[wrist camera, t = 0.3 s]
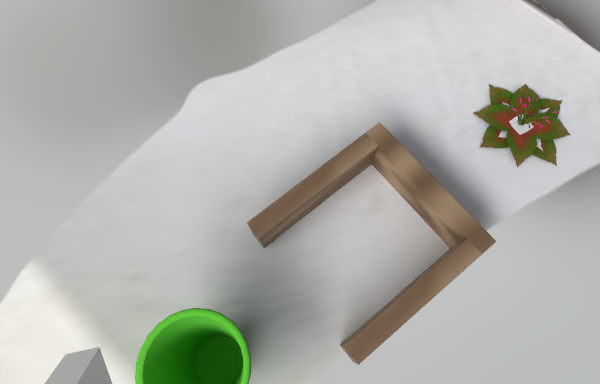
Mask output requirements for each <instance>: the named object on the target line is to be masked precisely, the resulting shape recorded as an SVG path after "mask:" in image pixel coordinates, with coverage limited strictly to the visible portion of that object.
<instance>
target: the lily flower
mask: <svg viewBox="0 0 600 384" xmlns="http://www.w3.org/2000/svg"><path fill="white" fill-rule="evenodd" d="M489 87H490V92H491V94H490V98H491V104H492V105H490V106H488V107H486V108H484V109H482V110H481V111H479V112H475V113H473V114H475V115H477V116H478V117H480V118H482V119H483V120H484V121H486V122H487V123H489V124H490V126H489V127H488V129H487V131H486V133H485V135H484V138H483V143H482V144H481V146H480V147H492V148H508V147H510V149H511V152H512V154H513V157H514V159H515V160H516V164H517V167H518V166H519V165H520V164H521V163H522V162H523V161H524V160H525V158H528V157H529V156H530V155H531V154H533V155H535V156H537V157H539V158H541V159H544V160H546V161H548V162H549V161H550V162H552V163H553V164H555V165H556V166H557V164H556V156H555V154H556V148H555V145H554V142H553V140H552V139H556V138H561V137H564V136H565V135H570V134H569V133H568V132H567V130H566V129H565V128H564V127H563V125H562V124H561V122H560V121H559V120H558V119H556V118H557V116H558V114H559V110H560V106H559V104H561V102H562V101H557V100H552V101H551V100H550V99H539V97H538V95H537V94H536V93H535V92H534V91H532V90H531V89H529V88H528V86H527V85H526V84H525V85H524V86H523V87H521V89H518V90H517V91H516V92H515V93H514V94H512V93H511V92H509V91H507V90H505V89H501V88H498V87H495V88H494V87H493V86H491V85H489ZM502 102H504V103H507V104H509V105H510V108H509V107H507V106H505V105H503V103H502ZM550 107H551V108H550ZM546 108H550V109H549V110H548V111H547V112H546V113H541V114H537V113H538V112H539V109H541V110H543V109H546ZM520 114H521V116H520V117H519V115H520ZM522 114H523V115H524V117H523V119H522V121H521V117H522ZM516 116H518V121H519V123H518V124H519V125H520V124H521V125H524V124H526V123H527V124H529V122H531V123H532V125H533V126H534V127H533V128H532V129H530V130H529V131H527V132H526V133H524V134H521V135H519V134H518V133H517V132H516V131H515V129H514V128H513V127H512V126H511V124H510V123H509V121H510V120H512V119H513V118H514V117H516ZM526 120H527V121H526ZM518 121H517V122H518ZM524 121H525V122H524ZM523 122H524V123H523ZM529 128H530V124H529ZM501 130H502V131H508V132H507V138H501V137H498V136H499V134H500V132H501ZM497 137H498V138H497ZM535 138H538V139H541V143H542V144H541V147H542V149H543V151H542V150H541V149H540V148H538V147H536V145H537V142H536V139H535Z"/></svg>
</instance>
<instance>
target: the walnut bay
mask: <svg viewBox="0 0 600 384" xmlns="http://www.w3.org/2000/svg"><path fill="white" fill-rule="evenodd" d="M371 164H372V165H373V166H374V167H375V168H376V169H377V170H378V171H379V172H380V173H381V174H382V175H383V176H384V178H385V179H386V180H387V181H388V182H389V183H390V184H391V185H392V186H393V187H394V188H395V189H396V190H397V191H398V192H399V194H400V195H401V196H402V197H403V198H404V199H405V200H406V201H407V202H408V203H409V204H410V205H411V206H412V207H413V208H414V210H415V211H416V212H417V213H418V214H419V215H420V216H421V217H422V218H423V219H424V220H425V221H426V222H427V223H428V225H429V226H430V227H431V228H432V229H433V230H434V231H435V232H436V233H437V234H438V235H439V236H440V237H441V238H442V239H443V241H444V242H445V243H446V244H447V245H448V246H449V247H450V248H451V249H450V250H449V251H447V252H446V253H445V254H444V255H443V256H442V257H441V258H439V259H438V260H437V261H436V262H435V263H434V264H433V265H431V266H430V267H429V268H428V269H427V270H426V271H424V272H423V273H422V274H421V275H420V276H419V277H418V278H416V279H415V280H414V281H413V282H412V283H411V284H410V285H408V286H407V287H406V288H405V289H404V290H403V291H402V292H400V293H399V294H398V295H397V296H396V297H395V298H394V299H392V300H391V301H390V302H389V303H388V304H387V305H386V306H384V307H383V308H382V309H381V310H380V311H379V312H378V313H376V314H375V315H374V316H373V317H372V318H371V319H370V320H368V321H367V322H366V323H365V324H364V325H363V326H361V327H360V328H359V329H358V330H357V331H356V332H355V333H353V334H352V335H351V336H350V337H349V338H348V339H347V340H345V341H344V342H343V343H342V344H341V345H340V346H341V347H342V348H343V349H344V351H345V352H346V353H347V354H348V356H349V357H350V358H351V359H352V361H353V362H355V363H357V364H360V363H361V362H362V361H363V360H364V359H365V358H366V357H367V356H369V355H370V354H371V353H372V352H373V351H374V350H375V349H376V348H378V347H379V346H380V345H381V344H382V343H383V342H384V341H385V340H387V339H388V338H389V337H390V336H391V335H392V334H393V333H394V332H396V331H397V330H398V329H399V328H400V327H401V326H402V325H403V324H404V323H406V322H407V321H408V320H409V319H410V318H411V317H412V316H413V315H414V314H416V313H417V312H418V311H419V310H420V309H421V308H422V307H423V306H425V305H426V304H427V303H428V302H429V301H430V300H431V299H432V298H433V297H435V296H436V295H437V294H438V293H439V292H440V291H441V290H442V289H443V288H445V287H446V286H447V285H448V284H449V283H450V282H451V281H452V280H454V279H455V278H456V277H457V276H458V275H459V274H460V273H461V272H463V271H464V270H465V269H466V268H467V267H468V266H469V265H470V264H472V263H473V262H474V261H475V260H476V259H477V258H478V257H479V256H481V255H482V254H483V253H484V252H485V251H486V250H487V249H488V248H489V247H490V246H492V245H493V244H494V243H495V242H496V241H495V240H494V239H493V238H492V237H491V235H490V234H489V233H488V232H487V231H486V230H485V229H484V228H483V227H482V226H481V225H480V224H479V223H478V222H477V221H476V220H475V219H474V218H473V217H472V216H471V215H470V214H469V213H468V212H467V211H466V210H465V209H464V208H463V207H462V206H461V205H460V204H459V203H458V202H457V201H456V200H455V199H454V198H453V197H452V196H451V195H450V194H449V193H448V192H447V191H446V190H445V189H444V187H443V186H442V185H441V184H440V183H439V182H438V181H437V180H436V179H435V178H434V177H433V176H432V175H431V174H430V173H429V172H428V171H427V170H426V169H425V168H424V167H423V166H422V165H421V164H420V163H419V162H418V161H417V160H416V159H415V158H414V157H413V156H412V155H411V154H410V153H409V152H408V151H407V150H406V149H405V148H404V147H403V146H402V145H401V144H400V143H399V142H398V141H397V140H396V138H395V137H394V136H393V135H392V134H391V133H390V132H389V131H388V130H387V129H386V128H385V127H384V126H383V125H382V124H381V123H380V122H379V123H378V124H377V125H375V126H374V127H373V128H371V129H370V130H369V131H367V132H366V133H365V134H364V135H362V136H361V137H360V138H358V139H357V140H356V141H354V142H353V143H352V144H350V145H349V146H348V147H346V148H345V149H344V150H342V151H341V152H340V153H339V154H337V155H336V156H335V157H333V158H332V159H331V160H329V161H328V162H327V163H325V164H324V165H323V166H321V167H320V168H319V169H317V170H316V171H315V172H313V173H312V174H311V175H310V176H308V177H307V178H306V179H304V180H303V181H302V182H300V183H299V184H298V185H296V186H295V187H294V188H292V189H291V190H290V191H288V192H287V193H286V194H285V195H283V196H282V197H281V198H279V199H278V200H277V201H275V202H274V203H273V204H271V205H270V206H269V207H267V208H266V209H265V210H263V211H262V212H261V213H259V214H258V215H257V216H256V217H254V218H253V219H252V220H250V221H249V222H248V223H247V224H248V225H249V227H250V229H251V231H252V233H253V235H254V236H255V237H256V238H257V240H258V241H259V242H260V243H261V245H262V246H263V247H264V248H265V247H266V246H267V245H268V244H270V243H271V242H272V241H274V240H275V239H276V238H277V237H279V236H280V235H281V234H283V233H284V232H285V231H286V230H288V229H289V228H290V227H291V226H293V225H294V224H295V223H297V222H298V221H299V220H300V219H302V218H303V217H304V216H306V215H307V214H308V213H309V212H311V211H312V210H313V209H315V208H316V207H317V206H318V205H320V204H321V203H322V202H324V201H325V200H326V199H327V198H329V197H330V196H331V195H332V194H334V193H335V192H336V191H338V190H339V189H340V188H341V187H343V186H344V185H345V184H347V183H348V182H349V181H350V180H352V179H353V178H354V177H356V176H357V175H358V174H359V173H361V172H362V171H363V170H365V169H366V168H367V167H368V166H370V165H371Z"/></svg>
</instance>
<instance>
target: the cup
mask: <svg viewBox="0 0 600 384" xmlns="http://www.w3.org/2000/svg"><path fill="white" fill-rule="evenodd" d="M250 375H251V357H250V353H249V349H248V344H247V342H246V340H245V338H244V336H243V334H242V332H241V331H240V330H239V328H238V327H237V326H236V325H235V324H234V323H233V321H231V320H230V319H228V318H227V317H225V316H224V315H223V314H221V313H218V312H215V311H213V310H210V309H201V308H193V309H187V310H182V311H179V312H177V313H175V314H172V315H170V316H168V317H167V318H166V319H164V320H163V321H162V322H160V323H159V324H158V325H157V326H156V327H155V328H154V329H153V330H152V331H151V333H150V334H149V335H148V336H147V338H146V340H145V342H144V344H143V345H142V347H141V349H140V353H139V356H138V359H137V362H136V373H135V381H136V384H248V383H249V379H250Z"/></svg>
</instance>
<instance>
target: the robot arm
mask: <svg viewBox="0 0 600 384" xmlns="http://www.w3.org/2000/svg"><path fill="white" fill-rule="evenodd" d="M45 384H112V382H111V379H110V376H109V373H108V371H107V368H106V365H105V362H104V359H103V356H102V353H101V351H100V348H99V347H98V348H93V349H89V350H84V351H79V352H75V353H70V354H66V355H65V356H64V358H63V359H62V360H61V362H60V363H59V365H58V366H57V367H56V369H55V370H54V371H53V373H52V374H51V376H50V377H49V378H48V380H47V381H46V383H45Z"/></svg>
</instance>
